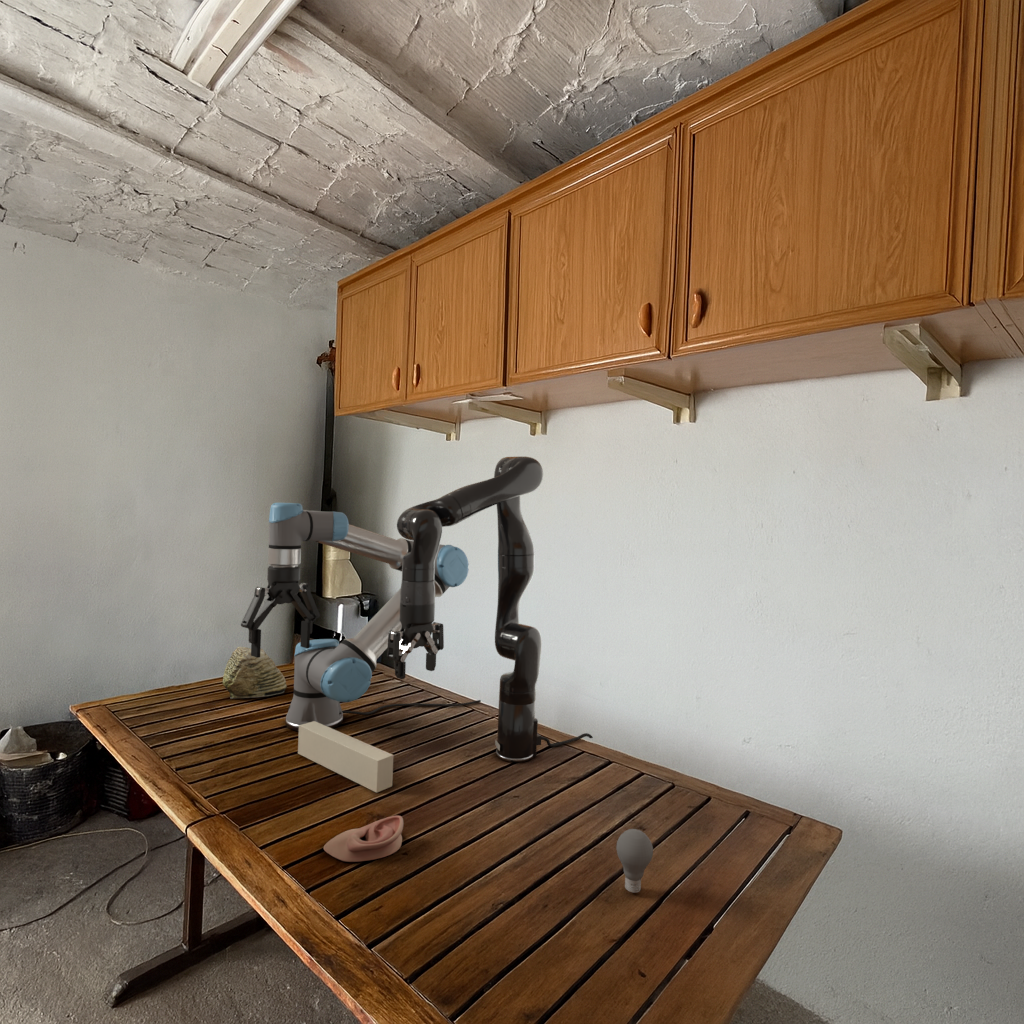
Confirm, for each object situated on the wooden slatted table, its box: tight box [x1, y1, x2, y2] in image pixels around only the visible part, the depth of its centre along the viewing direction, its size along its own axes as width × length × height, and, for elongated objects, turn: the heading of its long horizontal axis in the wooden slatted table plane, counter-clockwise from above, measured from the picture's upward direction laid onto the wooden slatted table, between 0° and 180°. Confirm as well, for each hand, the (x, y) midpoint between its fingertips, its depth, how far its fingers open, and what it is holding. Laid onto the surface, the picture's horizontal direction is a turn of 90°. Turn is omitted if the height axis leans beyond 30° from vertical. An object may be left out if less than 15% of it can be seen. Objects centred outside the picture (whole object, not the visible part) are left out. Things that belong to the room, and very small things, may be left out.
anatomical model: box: [323, 815, 404, 863], centre depth 116 cm, size 13×4×12 cm
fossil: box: [222, 646, 288, 699], centre depth 198 cm, size 9×18×15 cm, turn 132°
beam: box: [297, 721, 394, 794], centre depth 148 cm, size 30×4×7 cm, turn 51°
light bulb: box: [615, 828, 654, 894], centre depth 106 cm, size 6×6×10 cm
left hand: (281, 651), depth 156 cm, fingers open, 13 cm apart
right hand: (415, 674), depth 138 cm, fingers open, 8 cm apart
